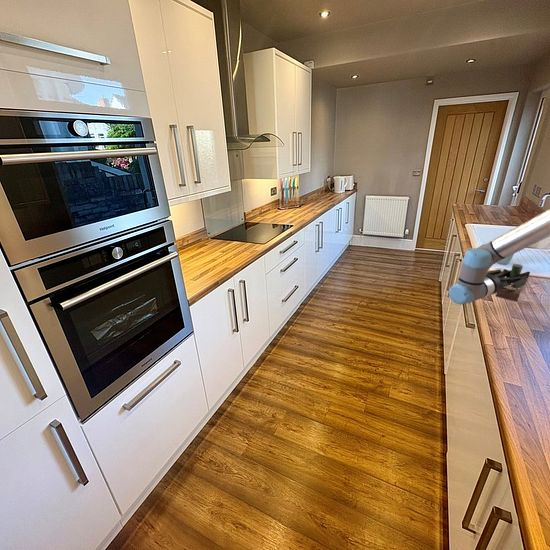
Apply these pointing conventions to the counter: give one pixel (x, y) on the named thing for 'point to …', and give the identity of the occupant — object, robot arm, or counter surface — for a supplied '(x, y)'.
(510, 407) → the counter surface
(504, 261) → the cup
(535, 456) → the counter surface
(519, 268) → the brush
